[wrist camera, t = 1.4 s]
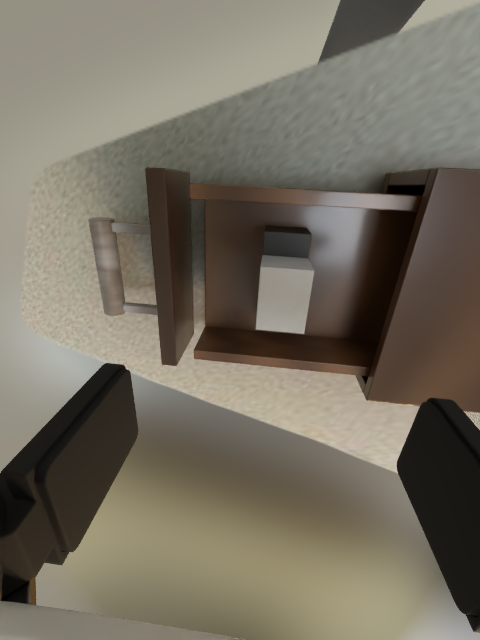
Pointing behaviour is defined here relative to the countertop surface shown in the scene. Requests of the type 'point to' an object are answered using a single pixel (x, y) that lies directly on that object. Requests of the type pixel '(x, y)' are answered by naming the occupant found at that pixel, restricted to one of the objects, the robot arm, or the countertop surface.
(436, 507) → the robot arm
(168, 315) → the drawer
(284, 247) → the two-tone rectangular prism
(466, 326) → the cabinet
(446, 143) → the countertop surface
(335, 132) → the countertop surface
